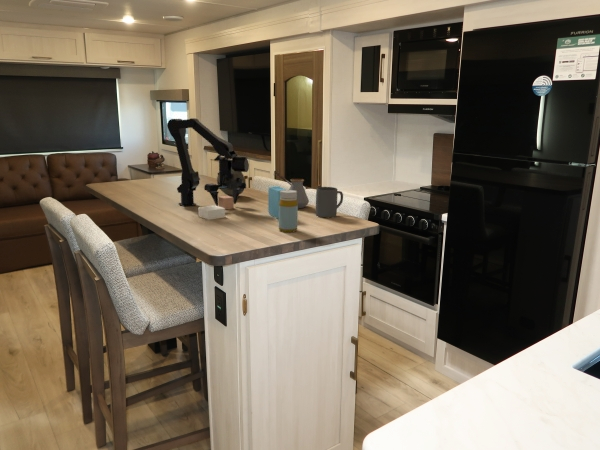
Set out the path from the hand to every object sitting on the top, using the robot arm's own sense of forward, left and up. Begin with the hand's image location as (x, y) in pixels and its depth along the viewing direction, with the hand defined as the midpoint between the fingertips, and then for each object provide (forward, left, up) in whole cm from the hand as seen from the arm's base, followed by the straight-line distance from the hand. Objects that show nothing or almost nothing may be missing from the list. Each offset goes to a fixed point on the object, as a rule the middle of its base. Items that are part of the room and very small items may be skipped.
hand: (225, 204), depth 216 cm
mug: (+38, +30, -2) cm, 49 cm away
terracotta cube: (0, 0, -1) cm, 1 cm away
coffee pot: (+11, +28, -2) cm, 30 cm away
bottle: (+49, -1, -1) cm, 49 cm away
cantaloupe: (-23, +16, -1) cm, 28 cm away
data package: (+27, +10, -2) cm, 29 cm away
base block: (+13, -14, -2) cm, 19 cm away
